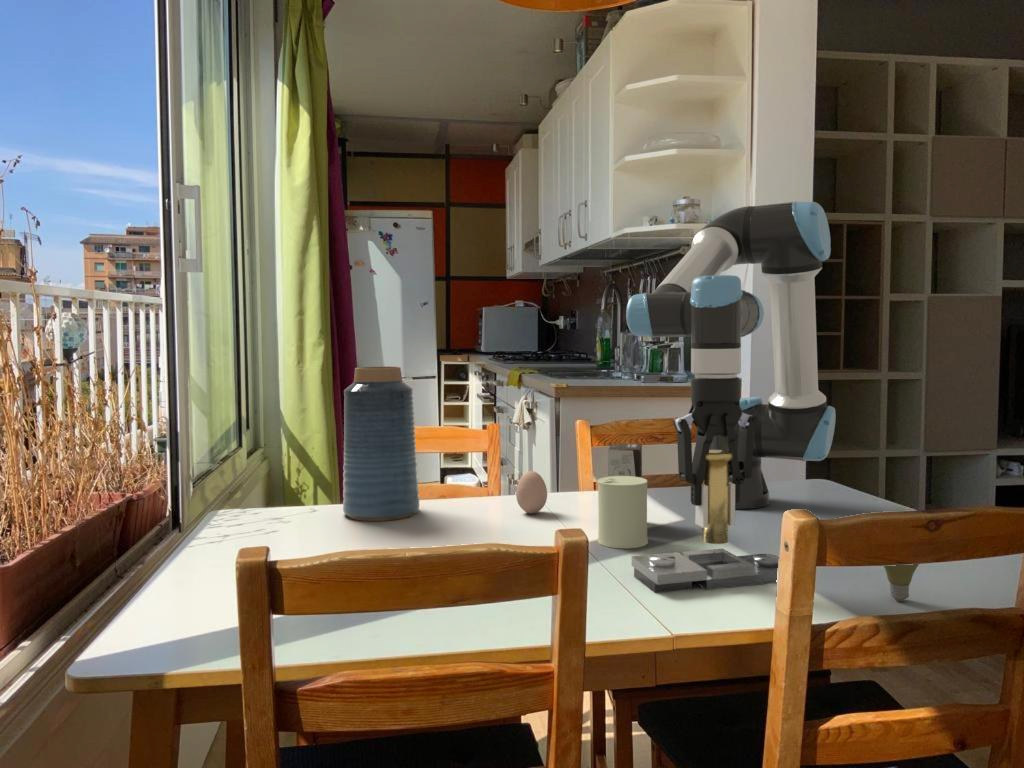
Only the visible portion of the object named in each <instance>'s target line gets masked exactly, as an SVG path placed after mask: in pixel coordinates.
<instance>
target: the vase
mask: <svg viewBox="0 0 1024 768" xmlns="http://www.w3.org/2000/svg"><path fill="white" fill-rule="evenodd" d="M413 393H414V392H413V388H412V387H411V386H410V385H409V384H407V383H406V382H404V381H403V376H402V369H401V366H391V365H390V366H387V365H386V366H382V365H381V366H362V367H355V368H354V377H353V382H352V383H351V384H350V385H349V386H347V387H346V388H345V389H344V390H343V396H344V399H343V402H344V403H343V408H344V409H343V413H344V414H343V418H344V419H343V422H344V424H343V432H344V434H343V438H344V439H343V448H344V449H343V467H342V468H343V474H342V476H343V482H342V487H343V491H342V493H343V494H342V497H343V501H342V510H343V513H344V514H345V516H347V517H348V518H350V519H352V520H355V521H364V522H385V521H386V520H387V521H394V520H395V519H396V520H400V519H406V518H408V516H409V517H411V516H414V515H415V514H416V513H417V511H419V509H420V496H419V494H420V493H419V492H420V491H419V478H418V474H419V473H418V471H419V470H418V468H417V467H418V462H417V456H416V455H417V452H416V451H417V448H416V445H417V443H416V437H415V435H416V432H415V428H416V427H415V416H414V415H415V412H414V402H413V401H414V400H413V399H414V397H413ZM396 520H395V521H396Z"/></svg>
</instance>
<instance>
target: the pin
mask: <svg viewBox="0 0 1024 768" xmlns="http://www.w3.org/2000/svg"><path fill="white" fill-rule="evenodd" d="M730 460H733V453H728V452H725V451H722V450H709V454H705V461H707V466H706V471H705V476H704V482H703V484H704V485H707V486H708V527H707V528H703V527H701V540H702V542H704V543H708V544H714V545H723V544H727V543H729V525H728V509H729V461H730Z"/></svg>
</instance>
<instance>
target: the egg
mask: <svg viewBox="0 0 1024 768" xmlns="http://www.w3.org/2000/svg"><path fill="white" fill-rule="evenodd" d="M515 492H516V494H515V495H516V501H517V504H518V505H519V507H520V509H522V510H523V511H524V512H525V513H526V514H530V515H531V514H532V515H533V514H537V513H539V512H540V511H541V510H542V509H543V508H544V507H545V506H546V503H547V499H548V489H547V485H546V482H545V480H544V479H543V477H542V475H541V474H539V473H538V472H536V471H534V470H530V471H526V472H525V473H524V474H522V476H521V477H520V479H519V481H518V483H517V486H516V491H515Z"/></svg>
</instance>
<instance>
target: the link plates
mask: <svg viewBox="0 0 1024 768" xmlns="http://www.w3.org/2000/svg"><path fill="white" fill-rule="evenodd" d="M682 553H683V555H682ZM682 553H679V552H677V551H676V552H667V553H654V554H646V555H645V554H644V555H634V556H631V567H633V576H634V578H635V579H636V580H638V582H639V581H640V583H642V584H643V585H644V586H646V587H647V588H648V589H650V590H651V591H653V592H654V593H665V592H672V591H673V592H674V591H682V590H684V591H685V590H692V583H693V582H694V583H696V584H698V585H699V586H700V587H702V588H703V589H705V590H706V591H707V590H716V589H728V588H737V587H747V586H756V585H766V584H776V580H777V568H778V559H779V560H780V557H779V556H778V555H774V554H769V553H757V554H755V553H754V554H746V555H744V554H743V555H735V554H734V553H732V552H730V551H728V550H726V549H724V548H713V549H703V550H691V551H683V552H682Z"/></svg>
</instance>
